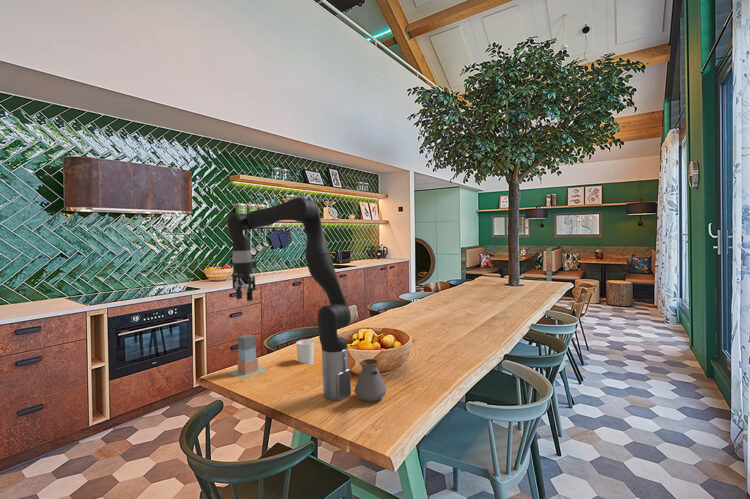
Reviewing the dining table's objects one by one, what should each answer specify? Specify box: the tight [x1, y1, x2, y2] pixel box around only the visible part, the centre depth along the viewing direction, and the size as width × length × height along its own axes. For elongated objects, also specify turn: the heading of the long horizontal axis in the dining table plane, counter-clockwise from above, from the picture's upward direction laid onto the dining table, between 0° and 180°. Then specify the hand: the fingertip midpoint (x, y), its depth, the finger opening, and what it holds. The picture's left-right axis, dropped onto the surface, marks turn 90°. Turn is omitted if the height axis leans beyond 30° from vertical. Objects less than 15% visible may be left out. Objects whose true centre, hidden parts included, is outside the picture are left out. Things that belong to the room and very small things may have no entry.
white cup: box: [295, 338, 315, 366], centre depth 167 cm, size 8×8×10 cm
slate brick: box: [237, 333, 257, 350], centre depth 155 cm, size 5×5×5 cm
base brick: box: [236, 357, 259, 375], centre depth 156 cm, size 6×6×5 cm
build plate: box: [227, 365, 269, 380], centre depth 156 cm, size 12×12×2 cm
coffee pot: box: [354, 358, 387, 403], centre depth 126 cm, size 21×12×15 cm, turn 9°
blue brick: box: [238, 347, 257, 362], centre depth 156 cm, size 5×5×5 cm
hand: (244, 299), depth 155 cm, fingers open, 8 cm apart
